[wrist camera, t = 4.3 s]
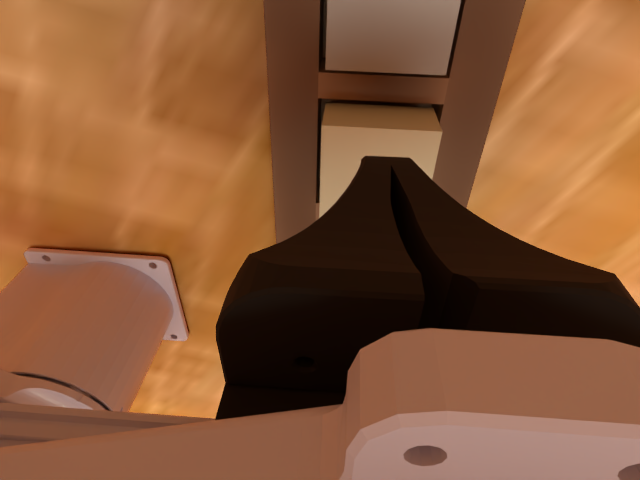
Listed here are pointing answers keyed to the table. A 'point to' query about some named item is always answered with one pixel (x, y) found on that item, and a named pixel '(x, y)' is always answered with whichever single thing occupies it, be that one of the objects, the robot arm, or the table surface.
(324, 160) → the key sage
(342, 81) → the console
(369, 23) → the key slate
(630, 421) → the robot arm
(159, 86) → the table surface
